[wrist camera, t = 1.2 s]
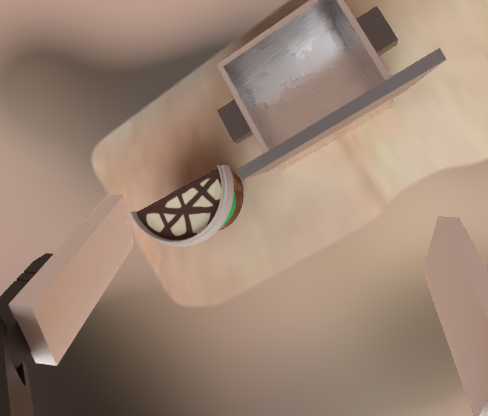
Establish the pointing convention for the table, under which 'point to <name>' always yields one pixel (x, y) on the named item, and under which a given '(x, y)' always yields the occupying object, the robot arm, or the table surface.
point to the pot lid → (343, 115)
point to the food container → (194, 209)
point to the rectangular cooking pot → (305, 73)
